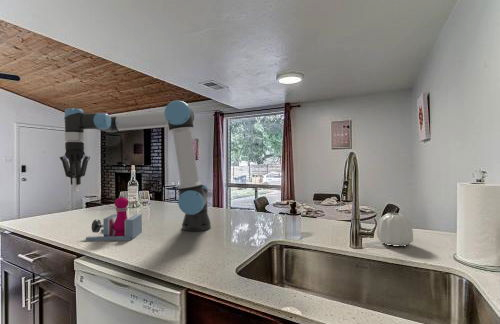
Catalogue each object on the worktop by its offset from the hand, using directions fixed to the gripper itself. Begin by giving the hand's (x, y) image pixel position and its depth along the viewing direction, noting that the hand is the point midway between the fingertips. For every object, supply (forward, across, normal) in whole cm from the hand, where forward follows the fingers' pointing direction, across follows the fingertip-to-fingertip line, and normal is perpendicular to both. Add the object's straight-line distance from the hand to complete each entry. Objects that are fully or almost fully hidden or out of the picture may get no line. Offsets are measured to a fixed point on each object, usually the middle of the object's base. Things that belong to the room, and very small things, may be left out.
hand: (75, 191), depth 130 cm
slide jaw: (+21, -13, 0) cm, 25 cm away
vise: (+22, -19, 0) cm, 29 cm away
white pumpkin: (+24, -144, +18) cm, 147 cm away
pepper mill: (+22, -21, 0) cm, 30 cm away
